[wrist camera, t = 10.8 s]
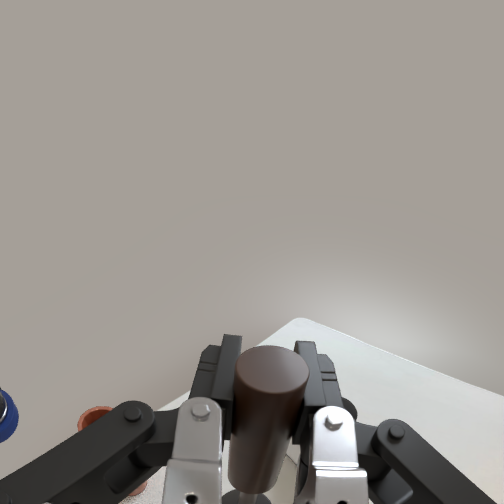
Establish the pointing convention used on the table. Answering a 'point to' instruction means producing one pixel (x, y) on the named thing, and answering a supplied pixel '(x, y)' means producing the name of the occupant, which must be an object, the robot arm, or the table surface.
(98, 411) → the tube
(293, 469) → the table surface
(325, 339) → the table surface
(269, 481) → the bottle brush
